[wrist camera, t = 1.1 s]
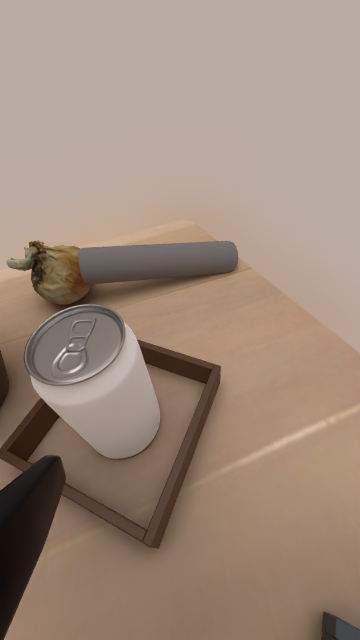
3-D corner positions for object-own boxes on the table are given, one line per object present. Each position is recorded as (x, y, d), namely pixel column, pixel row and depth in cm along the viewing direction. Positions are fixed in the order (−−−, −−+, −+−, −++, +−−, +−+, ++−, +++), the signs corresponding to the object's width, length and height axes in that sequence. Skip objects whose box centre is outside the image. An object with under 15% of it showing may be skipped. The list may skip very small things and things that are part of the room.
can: (80, 461, 22) (-7, 394, 13) (97, 388, 26) (40, 301, 18) (158, 460, 22) (123, 391, 13) (163, 387, 26) (139, 296, 17)
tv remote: (77, 248, 31) (76, 244, 30) (230, 241, 37) (236, 237, 35) (82, 285, 32) (81, 282, 30) (233, 272, 37) (240, 270, 35)
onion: (73, 324, 32) (42, 270, 26) (30, 303, 35) (-7, 250, 29) (114, 285, 36) (95, 231, 30) (72, 269, 39) (48, 217, 33)
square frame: (158, 548, 18) (150, 547, 16) (16, 465, 22) (-6, 455, 20) (219, 382, 26) (221, 365, 24) (105, 343, 30) (97, 326, 28)
